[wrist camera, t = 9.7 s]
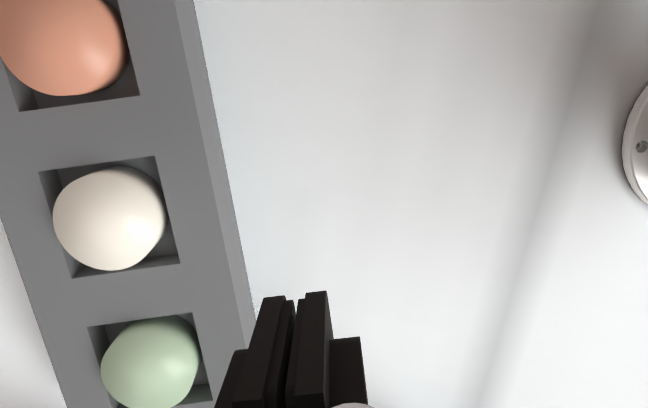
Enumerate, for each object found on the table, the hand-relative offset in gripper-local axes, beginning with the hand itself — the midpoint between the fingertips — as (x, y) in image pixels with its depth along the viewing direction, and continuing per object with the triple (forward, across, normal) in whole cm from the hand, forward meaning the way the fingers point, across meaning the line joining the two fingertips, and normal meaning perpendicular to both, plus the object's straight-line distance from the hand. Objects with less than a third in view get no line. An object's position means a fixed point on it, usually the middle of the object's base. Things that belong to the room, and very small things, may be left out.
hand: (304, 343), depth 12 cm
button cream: (+17, +13, 0) cm, 22 cm away
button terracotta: (+17, +13, -11) cm, 24 cm away
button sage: (+17, +13, +10) cm, 24 cm away
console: (+20, +13, 0) cm, 24 cm away
